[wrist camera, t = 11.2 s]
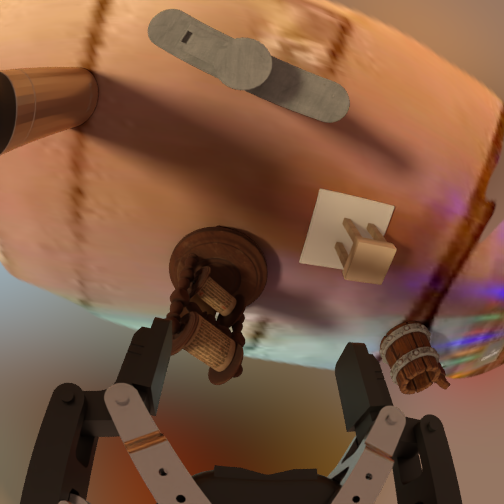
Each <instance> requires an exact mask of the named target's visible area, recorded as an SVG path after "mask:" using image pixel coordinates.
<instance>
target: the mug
mask: <svg viewBox="0 0 504 504" xmlns="http://www.w3.org/2000/svg"><path fill="white" fill-rule="evenodd" d="M386 335H387V336H384V338H383V339H382V341H381V344H380V355H381V357H382V359H383V362H384V363H387V364H388V365H389V366H390V368H391V372H390V375H391V378H392V380H393V383H394V384H397V385H398V386H399V388H400V391H401V392H402V393H404V394H414V393H415V391H416V392H417V393H418V392H420V391H423V390H424V389H426V388H428V387H429V386H431V385H432V384H433V382H434V383H437V384H438V385H439V386H440V387H441V388H443V389H447V388H448V387H449V386H450V383H448V381H446V378H445V375H446V374H445V371H444V369H443V368H442V366H441V364H440V363H439V354H437V351H436V350H435V349H434V348H432V347H431V345H430V343H429V341H430V336H431V333H430V332H429V331H428V329H427V328H426V327H425V326H424V325H422V324H421V323H420V322H416V321H408V323H406V322H404V323H401V324H399V325H397V326H395V327H394V328H392V329H391V330H390V331H389V332H388V333H387V334H386Z"/></svg>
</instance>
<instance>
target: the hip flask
mask: <svg viewBox="0 0 504 504" xmlns="http://www.w3.org/2000/svg"><path fill="white" fill-rule="evenodd" d="M148 36H149V38H150V40H151V41H152V42H153V43H154V44H155V45H157V46H158V47H160V48H162V49H163V50H165V51H167V52H168V53H170V54H172V55H174V56H175V57H177V58H179V59H181V60H183V61H185V62H186V63H188V64H190V65H192V66H194V67H196V68H198V69H200V70H202V71H204V72H206V73H208V74H210V75H212V76H214V77H216V78H218V79H219V80H221V82H222V83H224V84H225V85H226V86H228V87H230V88H232V89H237V90H245V91H247V92H249V93H251V94H254V95H256V96H258V97H260V98H263V99H265V100H267V101H270V102H272V103H275V104H277V105H279V106H282V107H285V108H287V109H289V110H292V111H295V112H297V113H300V114H303V115H305V116H308V117H311V118H314V119H317V120H320V121H322V122H327V123H332V122H336V121H339V120H340V119H342V118H343V117H344V116H345V115H346V114H347V112H348V109H349V105H350V100H349V96H348V94H347V92H346V90H345V89H344V88H343V87H342V86H341V85H340V84H338V83H336V82H333V81H331V80H328V79H325V78H323V77H320V76H318V75H315V74H313V73H310V72H307V71H305V70H303V69H300V68H298V67H296V66H293V65H291V64H289V63H286V62H284V61H282V60H279V59H277V58H275V57H273V56H271V55H270V53H269V51H268V49H267V48H266V47H265V46H264V45H263V44H261V43H260V42H259V41H256V40H254V39H250V38H243V37H242V38H236V39H234V38H232V37H230V36H228V35H226V34H224V33H222V32H220V31H217V30H215V29H214V28H212V27H210V26H208V25H206V24H204V23H202V22H200V21H198V20H197V19H195V18H193V17H191V16H190V15H188V14H186V13H184V12H183V11H180V10H177V9H168V10H165V11H162V12H160V13H158V14H157V15H156V16H155V17H154V18H153V19H152V20H151V22H150V24H149V27H148Z"/></svg>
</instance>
